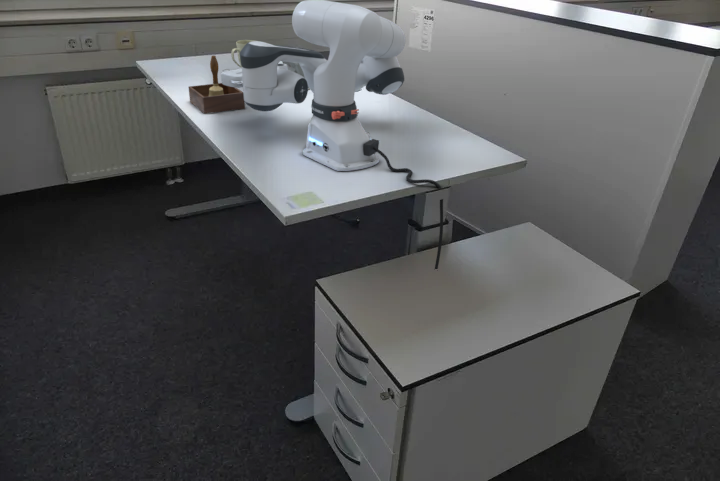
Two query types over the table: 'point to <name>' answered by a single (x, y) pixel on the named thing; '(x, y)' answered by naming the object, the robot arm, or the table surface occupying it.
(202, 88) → the crate
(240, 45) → the mug
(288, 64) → the digital clock
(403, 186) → the table surface
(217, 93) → the hand bell
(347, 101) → the robot arm
